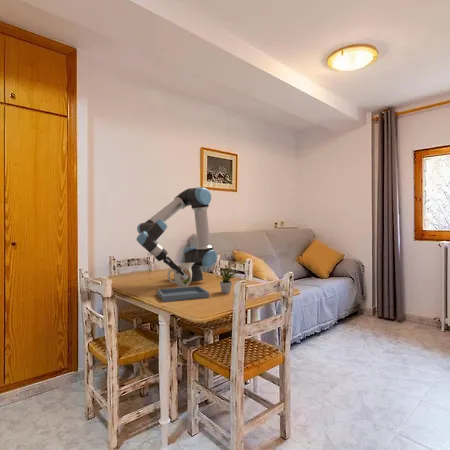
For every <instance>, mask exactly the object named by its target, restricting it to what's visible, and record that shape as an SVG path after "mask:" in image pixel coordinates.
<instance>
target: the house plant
mask: <svg viewBox="0 0 450 450" xmlns="http://www.w3.org/2000/svg"><path fill="white" fill-rule="evenodd" d="M220 268H221V267H219V268H218V267H217V268H216V267H215V268H214V269H216V270H217V271H218V272H219V275H217V276H216V278H220V279H221V280H220V281H219V283H220V284H219V285H220V291H221V294H230V293H231V291H232V290H231V289H232V285H233V284H232V283H233V281H231V279H235V278H236V275H237V274H238V273H237V272H234V273H232V272H233V271H234V269H232V266H230V267H229V268H228V269H227V266H225V268H224V267H223V268H221V269H220ZM231 269H232V270H231ZM221 270H222V271H221ZM234 275H235V276H234Z"/></svg>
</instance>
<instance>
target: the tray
mask: <svg viewBox="0 0 450 450" xmlns="http://www.w3.org/2000/svg"><path fill="white" fill-rule="evenodd" d="M156 295H157V296H158V298H160V300H161V301H162V302H163V303H167V302H178V301H180V302H181V301H188V300H190V301H191V300H199V299H208V298H210V292H209V291H208V290H206V289H205V288H203V287H201V286H200V285H196V286H194V285H193V286H187V287H171V288H160V289H159V288H158V289H156Z"/></svg>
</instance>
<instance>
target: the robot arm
mask: <svg viewBox="0 0 450 450" xmlns="http://www.w3.org/2000/svg"><path fill="white" fill-rule="evenodd" d="M211 201H212V193H211V191H210V190H209V189H208V188H206V187H202V186H201V187H200V186H198V187H191V188H187V189H184V190H183V191H181V192H180V193H178V194H177V195H176V196H175V197H174V198H173V200H172V201H170V202H169V203H168V204H166V206H164V207H163V208H161V210H159V211H158V212H156V213H155V214H153V216H151V217H150V218H148V220H146V221H145V222H141V223H139V224H138V225H137V228H136V230H137V233H138V235H137V237H136V239H135V240H136V242H137V243H138V244H139V245H140V246H141V247H142V248H144V249H145V250H146V251H147V252H148V253H149V255H150V256H153V257H154V259H156V260H157V261H158V262H161V261H163V263H164V264H165V265H167V266H168V267H169V268H170V269H174V270H176V271H177V274H178V273H179V274H180V275H181V276H182V277H183V278H184V279H185V280H186V279H187V278H188V277H189V276H188V275H186V274H185V273H184V272H183V271H182V270H181V268H179V267H178V266H177V265H176V264H177V263H175V262H174V261H173V260H172V259H171V258H170V256H167V255H168V253H169V252H168V251H167V250H166V249H165V248H164V247H163V246H162V245H161V244H160V243H159V242H157V240H158V239H159V238H160V237H161V236H162V235H163V234H164V233H165V231H166V230H167V228H168V225H167V223H166V222H167V220H169V219H171V217H172V216H173V215H175V214H176V213H178V212H179V211H180V210H184V209H185V208H186V207H190V206H191V210H193V213H194V222H195V224H194V225H195V232H196V241H197V245H196V246H193V247H191V246H190V247H186V248H185V247H184V250H183V251H184V252H183V263H194V264H193V265H192V267H191V271H192V279H191V282H196V281H197V282H198V281H202V280H203V279H204V275H203V272H202V269H201V267H203V268H210V267H213V266H214V265H215V264H216V263H217V260H218V254H217V252H216V250H215V249H214V247H213V245H212V244H211V237H210V230H209V228H210V226H209V218H208V217H209V216H208V209H209V206H210V205H209V204H211Z"/></svg>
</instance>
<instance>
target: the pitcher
mask: <svg viewBox="0 0 450 450" xmlns="http://www.w3.org/2000/svg"><path fill="white" fill-rule="evenodd" d="M175 264H176V265H177V266H178V267H179V268H181V270H182V271H183V272H184V273H185V274H186V275H188V276H189V277H188V278H187V279H186V280H185V279H184V278H183V277H182V276H181V275H180V274H179V273H178V274H177V271H176V270H174V269H172V268H170V269H169V270H168V272H167V279H168V281H169V282H170V283H172V284H176V286H177V288H180V287H190V284H191V282H192V281H191V279H192V271H191V267H192V265H193V264H194V263H184V262H182V263H175ZM172 272H173V278H174V280H172V279H171V278H170V277H171V276H170V275H171V273H172Z"/></svg>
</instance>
